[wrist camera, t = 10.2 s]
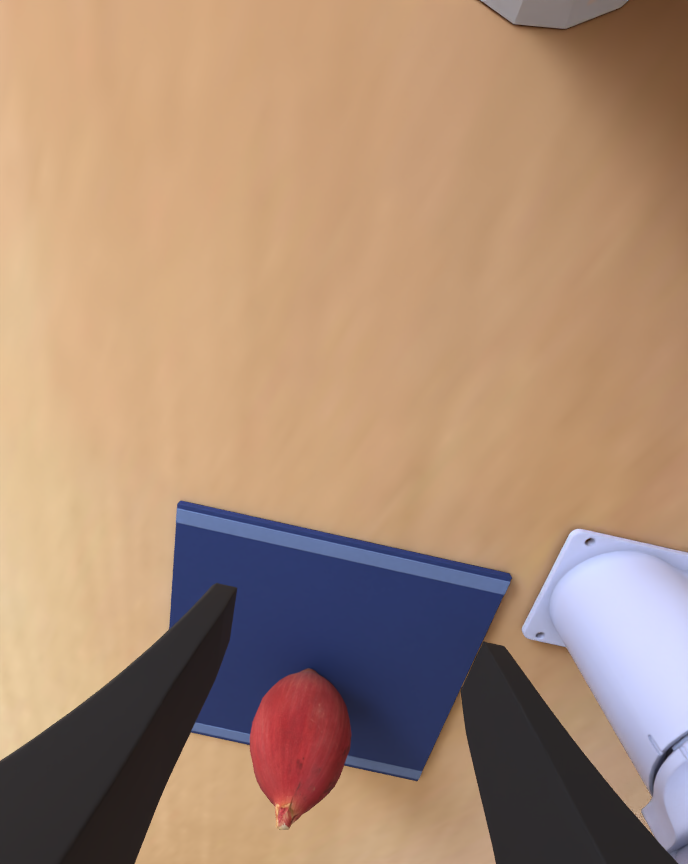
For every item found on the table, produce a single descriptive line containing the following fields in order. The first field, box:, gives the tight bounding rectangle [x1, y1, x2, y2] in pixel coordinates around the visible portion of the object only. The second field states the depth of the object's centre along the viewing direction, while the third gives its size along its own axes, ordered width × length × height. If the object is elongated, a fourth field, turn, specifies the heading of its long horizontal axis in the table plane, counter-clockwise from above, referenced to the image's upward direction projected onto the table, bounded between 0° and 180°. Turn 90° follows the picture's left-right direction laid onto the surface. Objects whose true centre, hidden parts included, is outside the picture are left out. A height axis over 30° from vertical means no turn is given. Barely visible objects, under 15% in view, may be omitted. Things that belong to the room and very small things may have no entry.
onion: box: [250, 668, 351, 830], centre depth 21 cm, size 6×6×8 cm
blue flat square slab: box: [169, 501, 512, 781], centre depth 25 cm, size 20×20×1 cm
